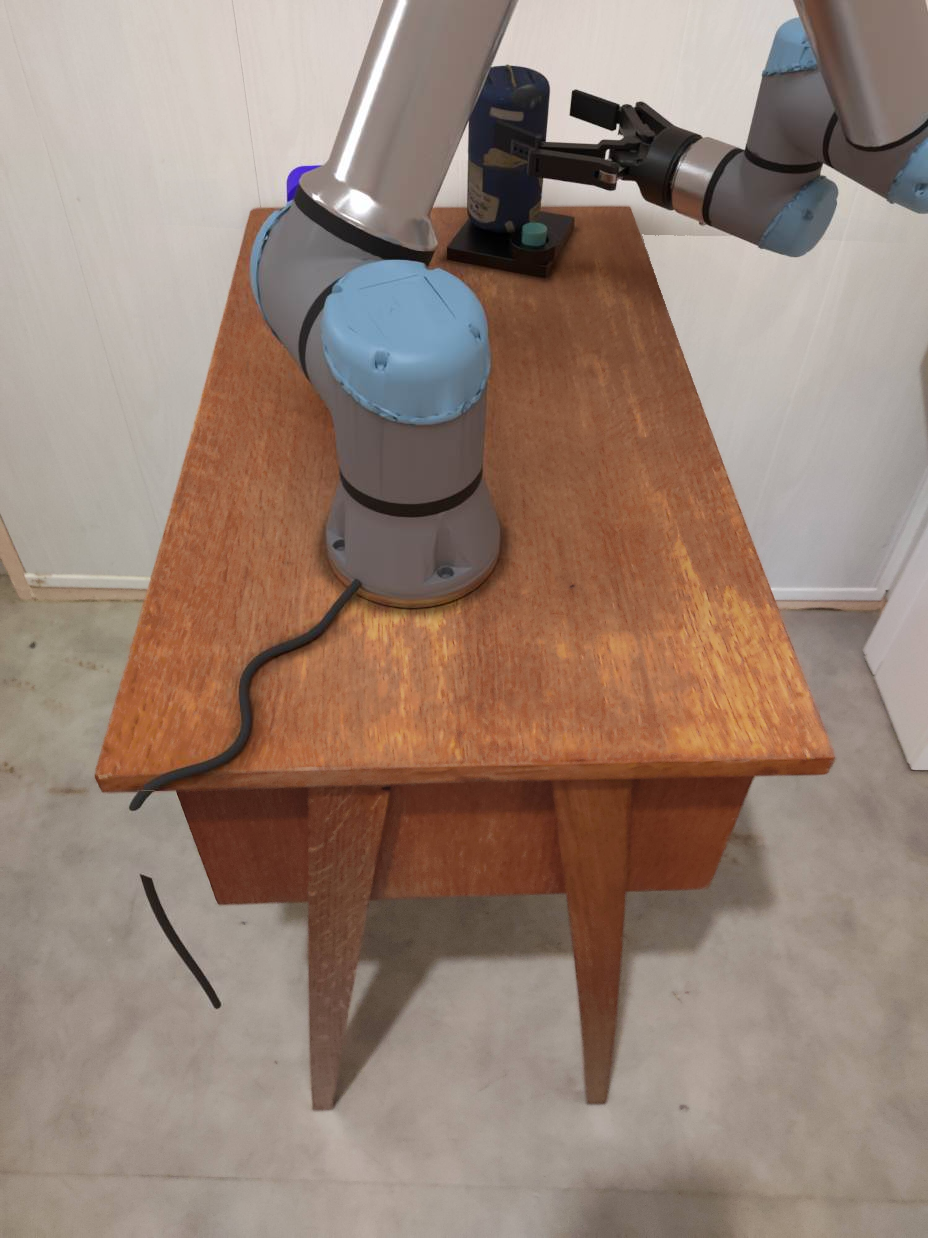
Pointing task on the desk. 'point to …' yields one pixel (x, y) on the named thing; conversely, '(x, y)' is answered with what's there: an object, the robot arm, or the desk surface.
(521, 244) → the black flat square block
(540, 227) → the button
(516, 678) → the desk surface
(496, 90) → the canister
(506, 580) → the desk surface
